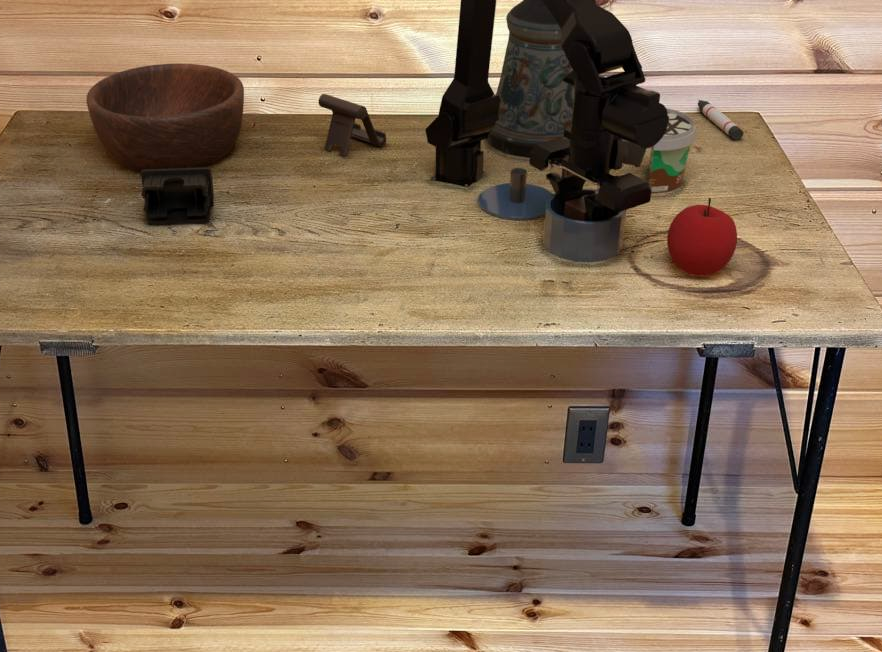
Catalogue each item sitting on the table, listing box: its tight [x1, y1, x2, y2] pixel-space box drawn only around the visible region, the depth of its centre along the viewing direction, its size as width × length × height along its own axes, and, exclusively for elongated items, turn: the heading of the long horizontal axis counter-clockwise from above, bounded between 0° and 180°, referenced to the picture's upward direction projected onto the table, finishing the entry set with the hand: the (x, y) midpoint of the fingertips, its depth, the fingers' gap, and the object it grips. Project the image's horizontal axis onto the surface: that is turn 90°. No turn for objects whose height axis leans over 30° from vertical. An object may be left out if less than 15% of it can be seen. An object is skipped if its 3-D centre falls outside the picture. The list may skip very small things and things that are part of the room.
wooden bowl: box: [85, 63, 245, 172], centre depth 192 cm, size 25×25×10 cm
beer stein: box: [487, 0, 597, 159], centre depth 189 cm, size 16×19×25 cm
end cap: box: [140, 166, 215, 226], centre depth 174 cm, size 10×7×7 cm
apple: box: [666, 197, 738, 277], centre depth 157 cm, size 9×9×10 cm
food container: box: [648, 107, 697, 194], centre depth 179 cm, size 12×6×10 cm, turn 168°
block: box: [564, 195, 588, 221], centre depth 163 cm, size 4×4×5 cm
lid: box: [477, 167, 554, 221], centre depth 175 cm, size 12×12×6 cm
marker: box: [697, 99, 744, 141], centre depth 200 cm, size 15×2×2 cm, turn 12°
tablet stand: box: [318, 93, 387, 157], centre depth 193 cm, size 9×8×8 cm
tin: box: [542, 187, 627, 263], centre depth 164 cm, size 11×11×6 cm
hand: (583, 230), depth 164 cm, fingers closed on block, 4 cm apart
